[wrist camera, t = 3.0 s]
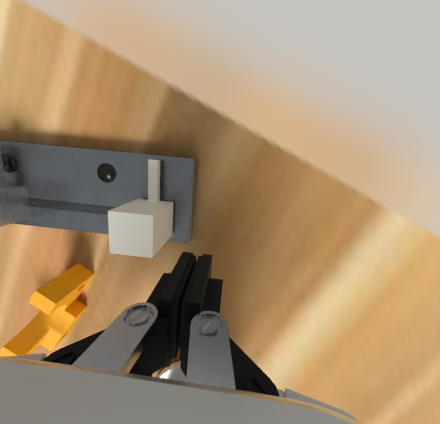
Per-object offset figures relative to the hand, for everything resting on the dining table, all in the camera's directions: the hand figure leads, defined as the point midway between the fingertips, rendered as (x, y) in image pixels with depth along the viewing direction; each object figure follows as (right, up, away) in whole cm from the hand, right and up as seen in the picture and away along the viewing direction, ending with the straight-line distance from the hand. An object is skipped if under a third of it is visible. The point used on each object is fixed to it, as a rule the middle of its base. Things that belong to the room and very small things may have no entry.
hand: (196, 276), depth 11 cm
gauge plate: (-15, +6, +14) cm, 21 cm away
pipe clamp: (-20, -9, +19) cm, 29 cm away
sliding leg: (-6, +5, +12) cm, 14 cm away
